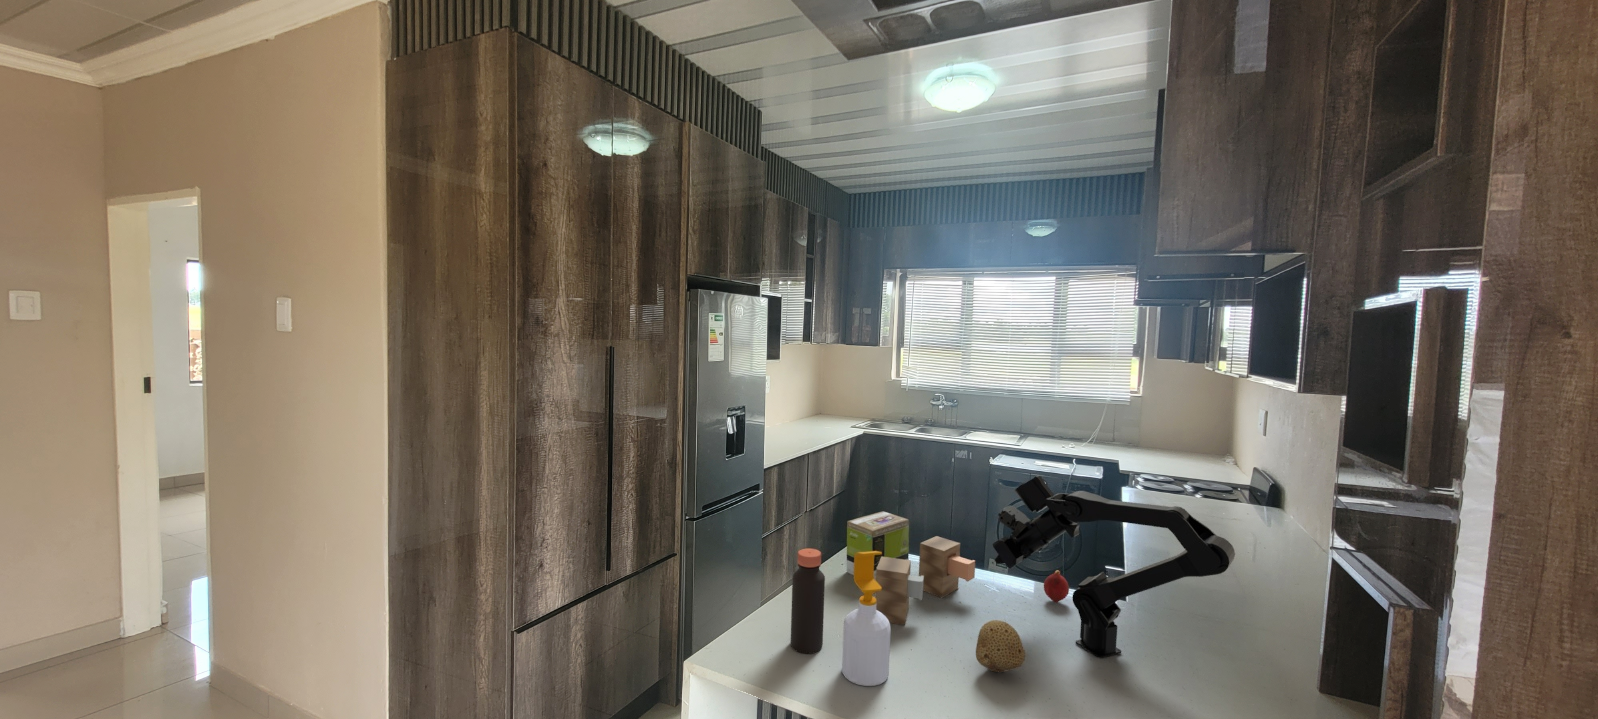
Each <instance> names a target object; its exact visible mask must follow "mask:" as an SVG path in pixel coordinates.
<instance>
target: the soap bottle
mask: <svg viewBox="0 0 1598 719" xmlns="http://www.w3.org/2000/svg"><path fill="white" fill-rule="evenodd" d="M880 554H882V552H879V551H870V552H857V553H855V556H854V575H853V581H854V583H855V585H856V586H857V587H858V588H859V590H860V591H861V593H863V595H862V596H860V597H859V601H858V608H856V609H854V610H852V611H851V612H849V613H848V614H847V615H846V616H845V618H844V620H843V633H842V635H843V637H842V639H843V640H842V662H841V666H842V667H841V673H842V675H843V676H844V677H845V679H847V680H848V681H849V682H850V683H853V684H856V685H858V686H864V687H874V686H879V685H881V684H883V683H885V682H886V681H887V679H888V678H889V674H890V654H891V653H890V652H891V631H892V630H891V623H889V620H888V619H887V618H886V617H885V616H884V615H883V614H882V613H881V612H879V611H878V610H876V598H875V596H873V594H875V591H881V590H882V587H881V586H880V585H879V584H878V583H877V582H876V581H875V579H874V556H875V555H880Z"/></svg>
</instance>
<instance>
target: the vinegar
mask: <svg viewBox="0 0 1598 719" xmlns="http://www.w3.org/2000/svg"><path fill="white" fill-rule="evenodd" d="M821 565H822V552H821V551H820V550H818V549H816V548H810V547H809V548H802V549H799V550H798V551H797V566H798V568H797V569H796V570H795V571H794V572H793V574H792V580H791V581H792V582H791V583H792V584H791V585H792V586H791V613H790V614H791V615H790V618H791V619H790V646H791V648H792V649H793V650H794V651H795V652H798V653H801V654H814V653H817V652H819V651H820V650H821V649H822V648H823V644H824V643H823V641H824V640H823V639H824V619H825V618H824V617H825V616H824V614H825V586H826V582H825V581H826V577H825V574H824V573H823V572H822V570H821V569H820V567H821Z"/></svg>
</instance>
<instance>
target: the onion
mask: <svg viewBox="0 0 1598 719" xmlns="http://www.w3.org/2000/svg"><path fill="white" fill-rule="evenodd" d="M1043 591H1044V593H1045V595H1046V596H1047V597H1048V598H1049V599H1050V600H1052V601H1053V602H1054V603H1059V602H1060V601H1062V600H1064V599H1066V597H1068V595H1069V592H1070V587H1069V583H1068V581H1067V580H1066V578H1065V577H1064V576H1063V575H1061V571H1060V570H1058V569H1057V570H1055V572H1054V573H1052V574H1050V575H1049V576H1047V577H1046V578H1045V579H1044V583H1043Z"/></svg>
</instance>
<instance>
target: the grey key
mask: <svg viewBox="0 0 1598 719" xmlns="http://www.w3.org/2000/svg"><path fill="white" fill-rule="evenodd" d="M923 583H924V576H922V575H921V576H919V575H913V574H910V575H909V576H908V585H907V597H909V598H911V599H918V600H919V601H922V600H923V595H924V591H923Z"/></svg>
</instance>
